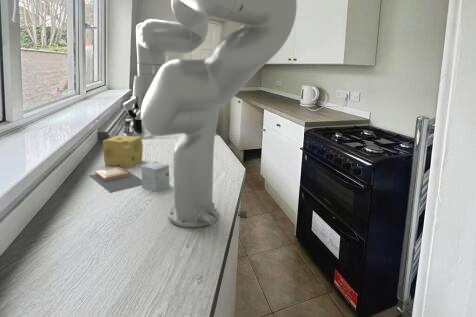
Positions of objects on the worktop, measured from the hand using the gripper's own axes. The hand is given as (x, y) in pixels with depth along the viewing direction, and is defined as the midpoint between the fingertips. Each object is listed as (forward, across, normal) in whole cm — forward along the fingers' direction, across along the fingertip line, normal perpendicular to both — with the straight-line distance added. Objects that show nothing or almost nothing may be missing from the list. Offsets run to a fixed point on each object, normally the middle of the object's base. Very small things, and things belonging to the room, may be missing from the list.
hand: (153, 130), depth 90 cm
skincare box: (+18, 0, 0) cm, 18 cm away
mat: (+18, +7, -12) cm, 23 cm away
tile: (+17, +7, -12) cm, 22 cm away
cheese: (+18, -2, -28) cm, 33 cm away
